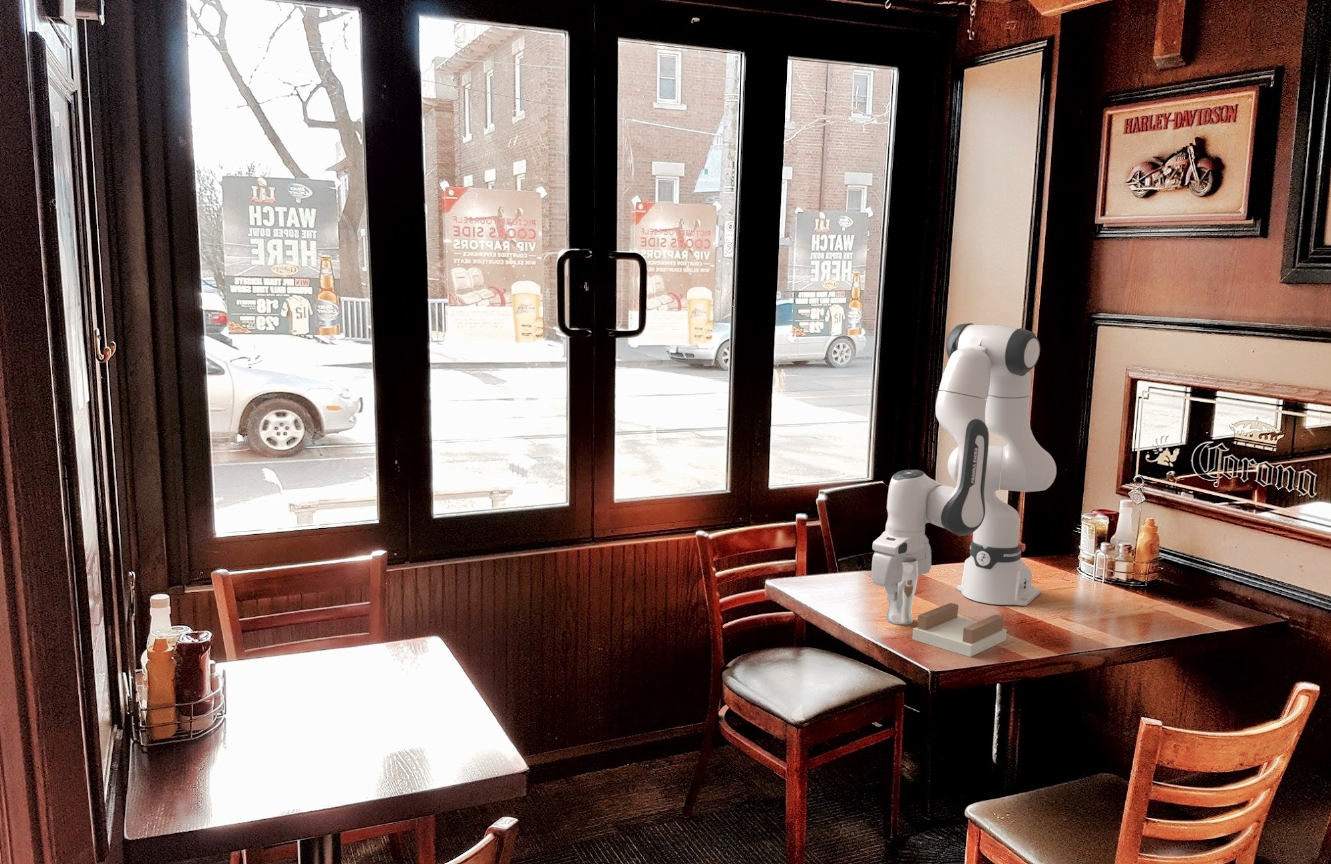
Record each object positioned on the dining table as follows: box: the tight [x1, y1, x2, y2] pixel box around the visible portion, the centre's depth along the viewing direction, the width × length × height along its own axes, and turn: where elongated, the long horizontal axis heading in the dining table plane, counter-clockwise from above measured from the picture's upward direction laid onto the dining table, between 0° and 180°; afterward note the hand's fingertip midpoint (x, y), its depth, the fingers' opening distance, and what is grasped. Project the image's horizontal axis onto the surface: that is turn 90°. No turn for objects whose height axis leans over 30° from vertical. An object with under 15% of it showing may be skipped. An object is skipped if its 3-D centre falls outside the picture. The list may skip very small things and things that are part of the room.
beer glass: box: [885, 558, 919, 626], centre depth 230 cm, size 7×7×15 cm
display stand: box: [911, 602, 1008, 658], centre depth 219 cm, size 16×14×6 cm
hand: (900, 597), depth 231 cm, fingers closed on beer glass, 6 cm apart
